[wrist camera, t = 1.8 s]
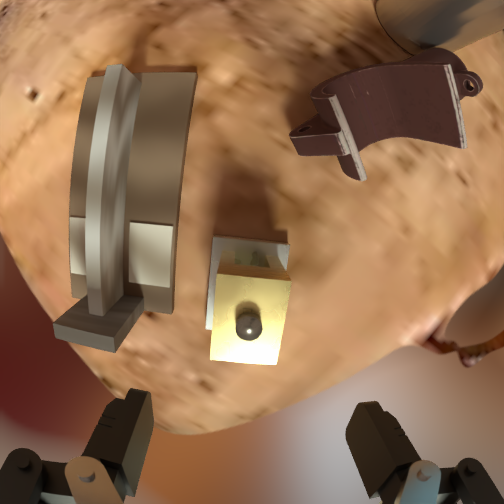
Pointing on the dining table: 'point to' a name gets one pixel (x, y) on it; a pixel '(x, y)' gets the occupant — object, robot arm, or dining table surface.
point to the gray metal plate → (241, 259)
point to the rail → (125, 202)
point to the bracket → (388, 107)
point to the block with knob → (249, 310)
